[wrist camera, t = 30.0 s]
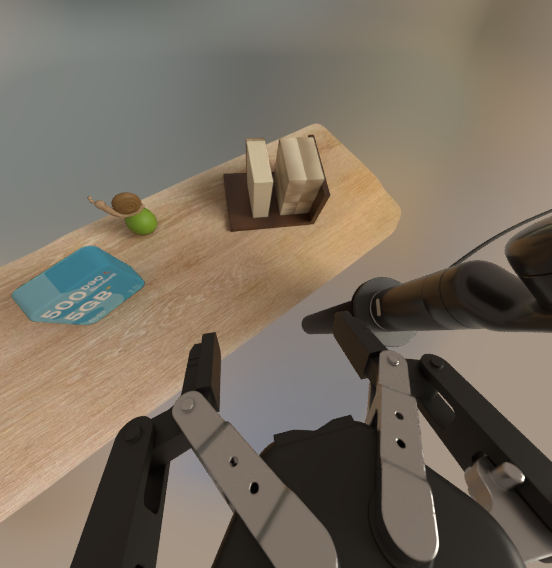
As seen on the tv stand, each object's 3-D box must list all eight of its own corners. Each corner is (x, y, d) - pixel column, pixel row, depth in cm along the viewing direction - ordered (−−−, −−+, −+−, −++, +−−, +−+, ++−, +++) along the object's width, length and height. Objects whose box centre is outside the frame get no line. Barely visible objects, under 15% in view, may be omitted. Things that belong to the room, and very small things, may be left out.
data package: (92, 326, 37) (22, 321, 26) (77, 308, 38) (2, 297, 26) (148, 283, 40) (108, 262, 29) (134, 268, 41) (88, 241, 29)
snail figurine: (125, 226, 43) (79, 186, 31) (153, 212, 44) (119, 169, 33) (137, 246, 42) (95, 212, 31) (166, 231, 44) (136, 194, 32)
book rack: (301, 173, 52) (316, 127, 41) (313, 224, 49) (333, 189, 37) (223, 176, 49) (216, 128, 38) (231, 231, 46) (225, 196, 34)
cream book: (261, 180, 49) (264, 137, 38) (268, 216, 47) (273, 181, 36) (246, 181, 48) (245, 138, 38) (252, 218, 46) (253, 183, 36)
